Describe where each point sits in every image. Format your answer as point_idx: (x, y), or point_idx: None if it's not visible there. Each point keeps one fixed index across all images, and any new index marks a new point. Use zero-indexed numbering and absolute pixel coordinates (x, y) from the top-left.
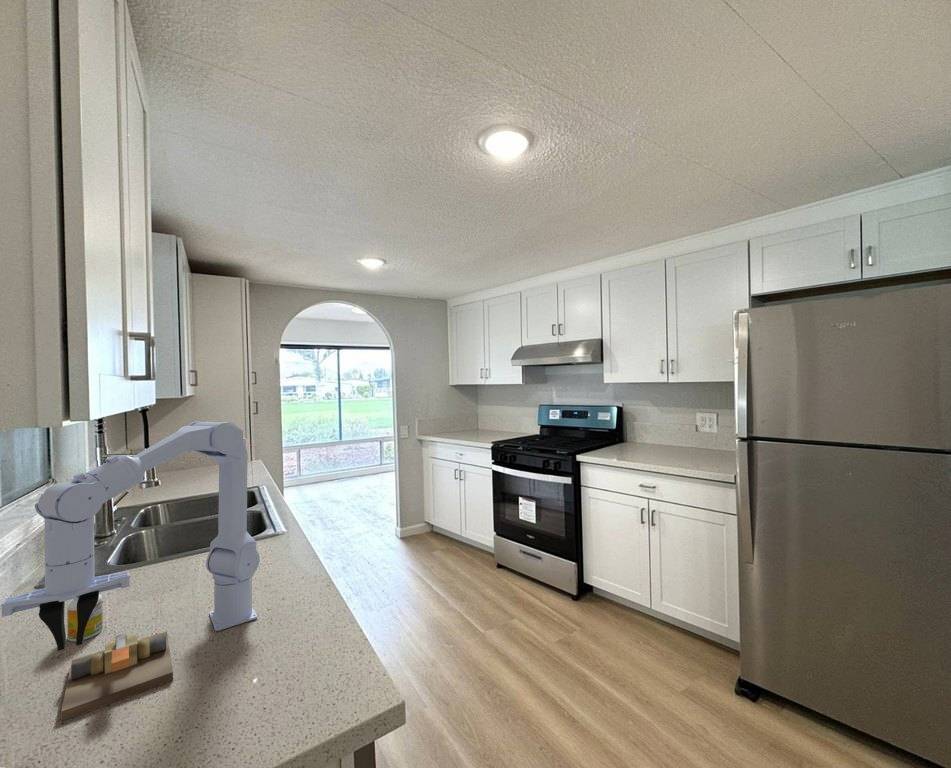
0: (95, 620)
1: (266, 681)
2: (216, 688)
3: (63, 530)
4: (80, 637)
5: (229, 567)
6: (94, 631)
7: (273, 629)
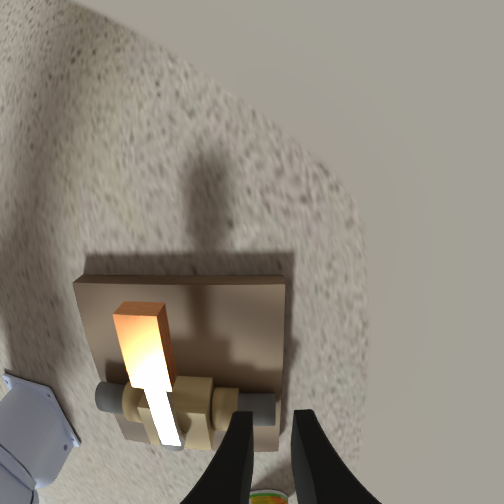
0: None
1: None
2: (17, 184)
3: None
4: (235, 431)
5: None
6: (251, 497)
7: None
